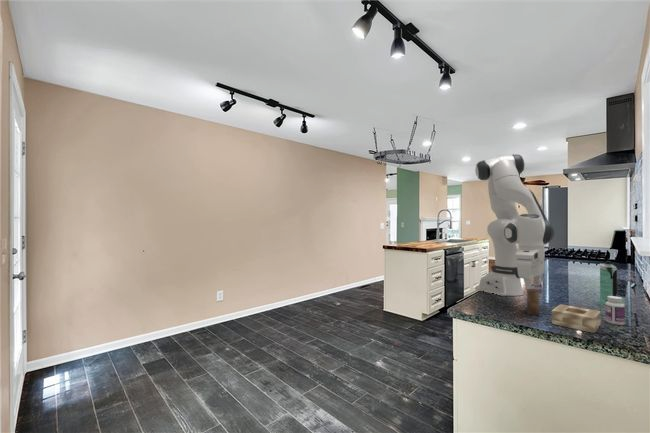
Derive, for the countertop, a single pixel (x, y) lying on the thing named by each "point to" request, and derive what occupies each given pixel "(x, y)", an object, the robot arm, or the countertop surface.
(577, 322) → the socket block
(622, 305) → the pill bottle
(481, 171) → the robot arm
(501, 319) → the countertop surface
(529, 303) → the peg
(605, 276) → the spray can
